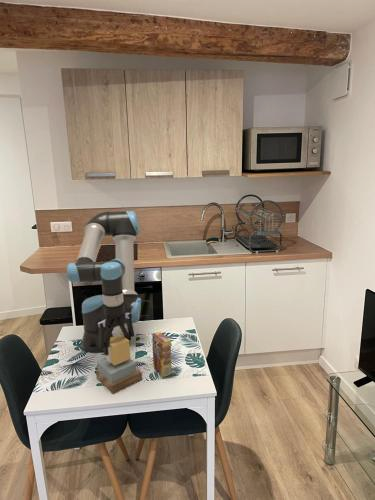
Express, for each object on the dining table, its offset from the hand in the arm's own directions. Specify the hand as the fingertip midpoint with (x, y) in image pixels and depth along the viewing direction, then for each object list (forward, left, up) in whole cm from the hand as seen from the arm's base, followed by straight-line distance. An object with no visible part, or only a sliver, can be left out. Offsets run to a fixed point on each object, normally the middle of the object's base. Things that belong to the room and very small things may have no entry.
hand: (118, 357), depth 139 cm
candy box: (+7, +16, -9) cm, 20 cm away
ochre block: (0, 0, 0) cm, 0 cm away
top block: (0, -1, -6) cm, 6 cm away
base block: (0, 0, -10) cm, 10 cm away
